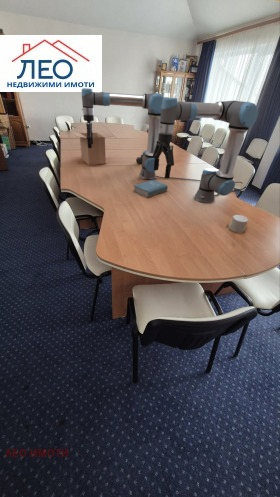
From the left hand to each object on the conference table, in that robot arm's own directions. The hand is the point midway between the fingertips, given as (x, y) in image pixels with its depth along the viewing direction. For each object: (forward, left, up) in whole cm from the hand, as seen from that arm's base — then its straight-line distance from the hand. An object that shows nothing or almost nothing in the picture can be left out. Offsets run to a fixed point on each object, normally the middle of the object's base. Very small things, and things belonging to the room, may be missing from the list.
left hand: (90, 146), depth 173 cm
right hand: (-45, +63, 0) cm, 77 cm away
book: (-47, +21, -28) cm, 59 cm away
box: (+4, -60, -28) cm, 66 cm away
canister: (-94, +79, -28) cm, 126 cm away
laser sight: (-53, -55, -28) cm, 82 cm away
